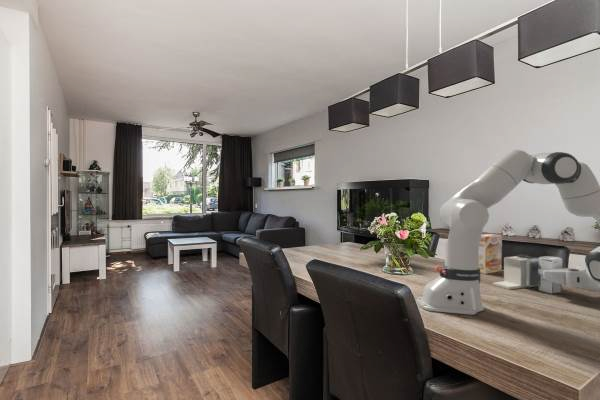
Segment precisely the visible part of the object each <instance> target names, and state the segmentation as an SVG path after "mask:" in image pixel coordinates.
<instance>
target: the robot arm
mask: <svg viewBox="0 0 600 400" xmlns="http://www.w3.org/2000/svg"><path fill="white" fill-rule="evenodd" d="M522 181H523V182H525V183H528V184H539V185H553V184H554V185H555V186H556V187H557V189H558V192H559V195H560V198H561V201H562V203H563V205H564V207H565V208H566V210H567V212H569V213H570V214H573V215H575V216H577V217H580V218H581V217H583V218H587V217H589V218H590V217H591V218H593V219H594V220H595V221H596V222H597V225H598V227H599V228H600V183H599V181H598V179H597V177H596V175H595V174H594V172H593V170H592V169H591V168H590V167H589V165H588V164H586V163H584V162H580V161H578V159H577V158H576V157H575V156H574V155H572V154H570V153H567V152H564V151H563V152H562V151H556V152H542V153H541V152H540V153H537V154H529V153H528V152H527V151H524V150H522V149H512V150H510V151H508V152H506V153H505V154H503V155H502V156H500V157H499V158H498V159H496V160H495V161H494V162H493V163H492V164H490V166H489V167H487V168H486V169H485V170H484V171H483V172H482V173H481V174H480V175H478V177H476V179H475V180H473V181H472V182H470V183H469V184H468V185H467V186H465V187H464V188H462V189H461V190H460V191H458V192H457V193H456V194H455V195H453V196H452V197H451V198H449V199H448V200H447V201H445V202H444V203H443V204H442V205H441V206H440V208H439V217H440V219H441V221H442V222H443V223H444V224H445V225H447V226H448V227H449V233H448V236H447V240H446V243H445V245H444V247H445V248H444V265H443V266H440V265H436V266H435V271H436V272H439V276H437V277H436V278H434V279H433V280H431V281H429V282H428V283H427V284H425V285H424V287H423V291H422V295H421V296H418V297H417V298H416V303H417V305H418V306H419V307H420V308H422V309H424V310H425V311H427V312H429V311H430V312H439V313H449V314H450V313H451V314H458V315H459V314H460V315H469V316H470V315H471V316H473V315H476V314H477V313H478V312H479V313H480V312H482V311H484V310H485V307H484V304H483V301H482V296H481V294H482V293H481V289H480V284H481V278H482V277H481V273H480V269H479V245H480V240H481V236H482V235H483V231H484V227H485V226H486V225H487V223H488V221H489V219H490V215H489V214H490V213H489V211H488V209H490V207H491V208H492V206H495V205H496V204H498V203H500V202H501V201H502V200H503V199H504V198H506V197H507V195H508V194H509V193H511V192H512V191H513V190H514V189H515V188H516V187H517V186H518V185H519V184H521V182H522ZM584 262H585V265H578V266H573V267H562V268H561V269H552V270H544V269H539V270H538V273H539V274H543V278H544V279H545V280H547V281H551V282H554V283H558V284H562V286H565V287H566V288H569V289H580V290H585V291H589V292H596V293H597V292H598V293H600V245H599V246H598V247H595V248H594V249H593V250H591V251H589V252H588V253H587V254H586V256H585V258H584Z"/></svg>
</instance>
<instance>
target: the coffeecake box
mask: <svg viewBox="0 0 600 400" xmlns="http://www.w3.org/2000/svg"><path fill="white" fill-rule="evenodd" d="M502 255H503V235H502V234H494V233H487V234H486V233H485V234H482V236H481V240H480V245H479V269H480V274H484V275H487V274H492V273H497V272H502V270H503V267H502V263H503V262H502V258H503V256H502Z"/></svg>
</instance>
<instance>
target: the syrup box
mask: <svg viewBox="0 0 600 400" xmlns="http://www.w3.org/2000/svg"><path fill="white" fill-rule="evenodd" d="M538 258H539V269H544V270H552V269H561V268H563V258H560V257H558V256H551V255H550V256H549V255H547V256H546V255H545V256H539V257H538ZM562 286H563V285H562V284H558V283H554V282H551V281H547V280H545V279H544V278H543V274H539V285H538V286H537V287H538V289H537V290H538V291H540V292H543V293H548V294H552V295H553V294H560V293H562Z"/></svg>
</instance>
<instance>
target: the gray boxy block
mask: <svg viewBox="0 0 600 400" xmlns="http://www.w3.org/2000/svg"><path fill="white" fill-rule="evenodd" d="M517 256H518V257H524V258H529V259H527V264H526V285H537V284H539V273H538V270H539V257H534V258H533V257H532V256H529V257H528V255H527V254H524V253H523V254H517Z"/></svg>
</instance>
